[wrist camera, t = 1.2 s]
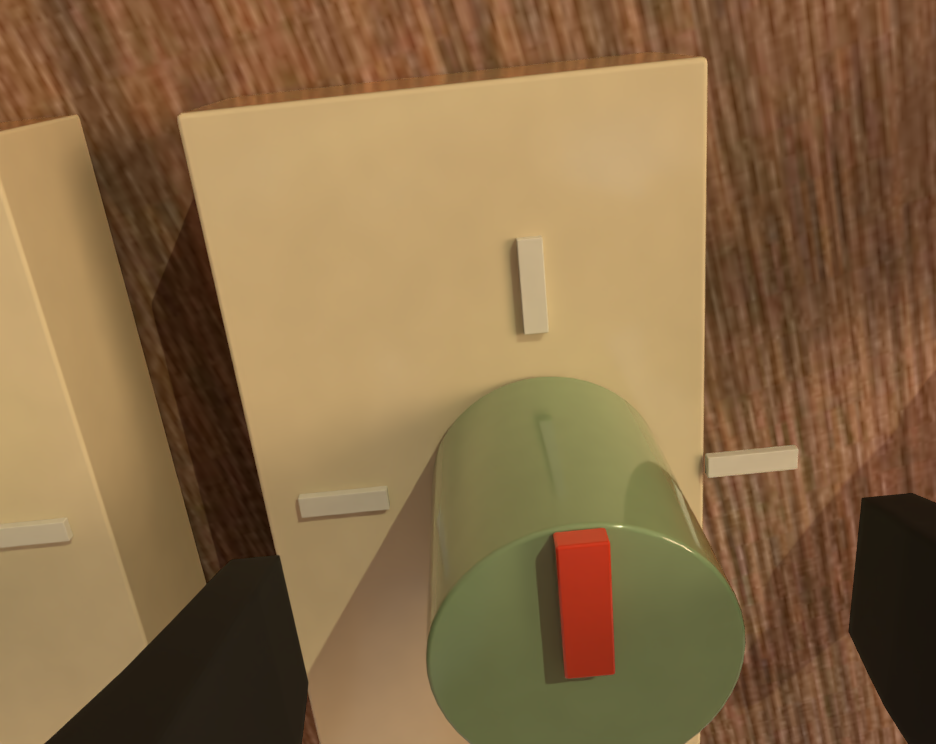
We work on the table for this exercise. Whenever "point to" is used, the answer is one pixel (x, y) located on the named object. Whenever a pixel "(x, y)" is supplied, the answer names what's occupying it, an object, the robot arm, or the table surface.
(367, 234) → the dial knob base
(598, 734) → the knob
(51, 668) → the tan base plate
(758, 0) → the table surface
